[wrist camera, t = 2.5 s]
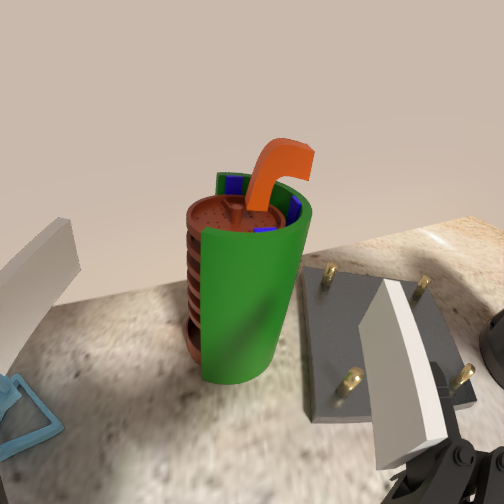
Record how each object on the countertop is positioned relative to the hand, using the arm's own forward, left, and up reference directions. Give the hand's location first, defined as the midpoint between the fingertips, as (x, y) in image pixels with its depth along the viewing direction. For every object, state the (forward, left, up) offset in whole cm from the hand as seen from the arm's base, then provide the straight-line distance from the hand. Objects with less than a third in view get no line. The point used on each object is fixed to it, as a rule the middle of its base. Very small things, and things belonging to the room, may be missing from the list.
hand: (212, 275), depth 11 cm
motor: (-1, -10, -17) cm, 20 cm away
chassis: (-19, -12, -17) cm, 28 cm away
